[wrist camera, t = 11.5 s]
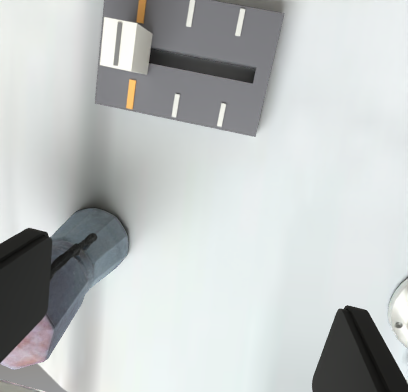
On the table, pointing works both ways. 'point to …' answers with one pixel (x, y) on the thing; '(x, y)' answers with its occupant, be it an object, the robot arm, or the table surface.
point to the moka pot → (72, 278)
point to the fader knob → (125, 46)
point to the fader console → (199, 48)
